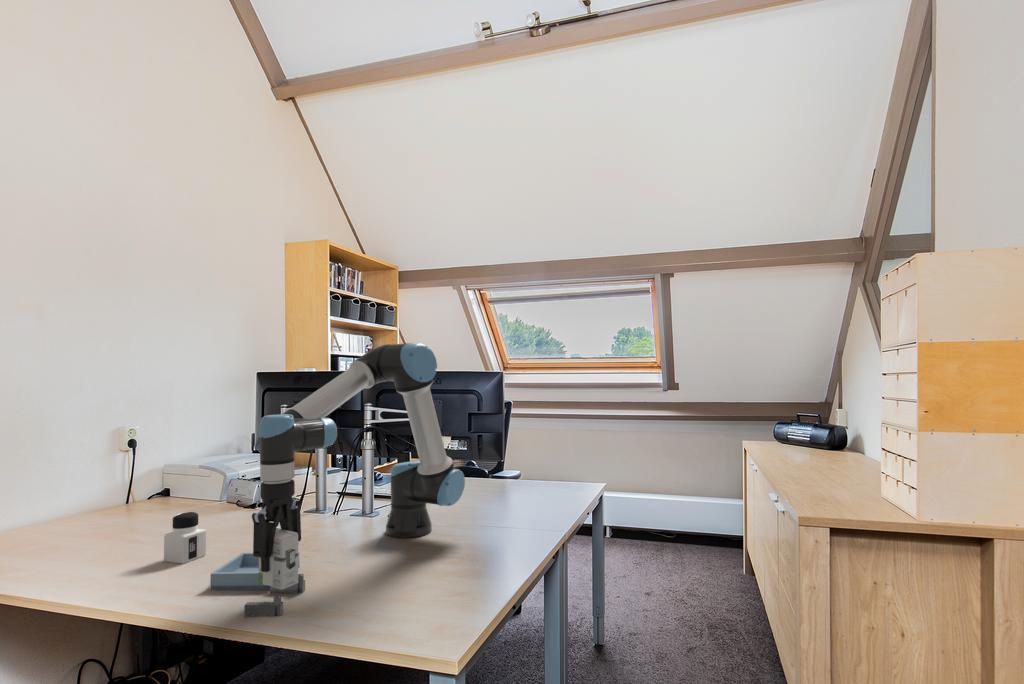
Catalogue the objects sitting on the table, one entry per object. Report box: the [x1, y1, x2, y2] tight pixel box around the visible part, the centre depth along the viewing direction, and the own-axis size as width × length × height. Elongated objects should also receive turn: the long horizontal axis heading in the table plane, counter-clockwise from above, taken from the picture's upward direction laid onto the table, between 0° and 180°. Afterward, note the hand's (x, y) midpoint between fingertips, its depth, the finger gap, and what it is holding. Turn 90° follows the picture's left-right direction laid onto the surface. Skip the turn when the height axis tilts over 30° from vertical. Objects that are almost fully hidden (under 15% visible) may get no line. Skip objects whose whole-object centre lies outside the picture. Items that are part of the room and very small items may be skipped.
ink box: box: [259, 527, 299, 590], centre depth 132 cm, size 9×5×12 cm, turn 61°
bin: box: [210, 551, 300, 591], centre depth 147 cm, size 16×16×4 cm
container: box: [163, 511, 207, 565], centre depth 164 cm, size 8×8×13 cm
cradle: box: [243, 573, 306, 617], centre depth 131 cm, size 8×15×4 cm, turn 179°
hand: (278, 579), depth 132 cm, fingers closed on ink box, 5 cm apart
